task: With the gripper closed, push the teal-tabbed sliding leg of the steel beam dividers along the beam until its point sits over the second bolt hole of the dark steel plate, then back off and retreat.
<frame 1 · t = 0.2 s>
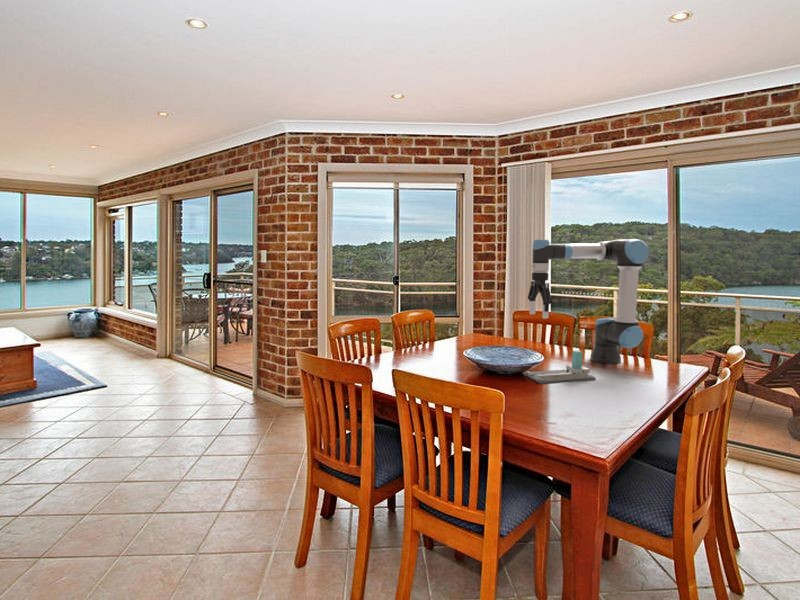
hand: (538, 316, 227), 28 cm above the table, fingers open, 13 cm apart
bolt plate: (558, 377, 221), on the table
sliding leg: (573, 362, 219), point 7 cm above the table, slide at 4.0 cm
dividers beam: (583, 378, 219), resting on bolt plate
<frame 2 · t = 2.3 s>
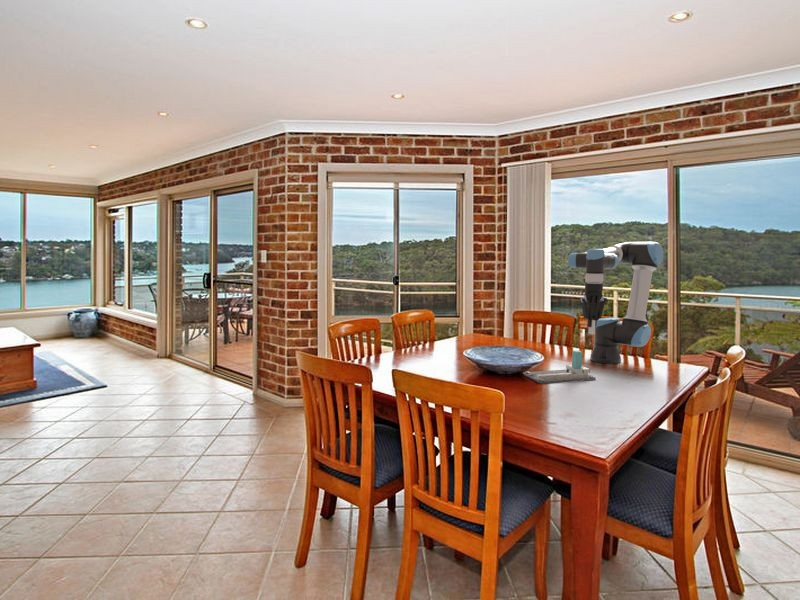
hand: (591, 333, 217), 21 cm above the table, fingers closed
nothing on the table moved.
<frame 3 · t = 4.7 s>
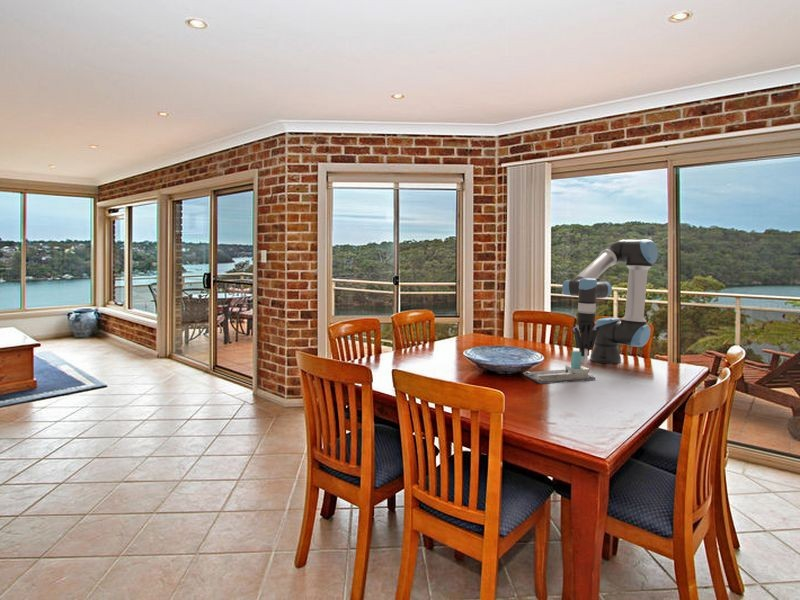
hand: (584, 362, 218), 8 cm above the table, fingers closed
sliding leg: (572, 362, 219), point 7 cm above the table, slide at 4.5 cm, touching gripper
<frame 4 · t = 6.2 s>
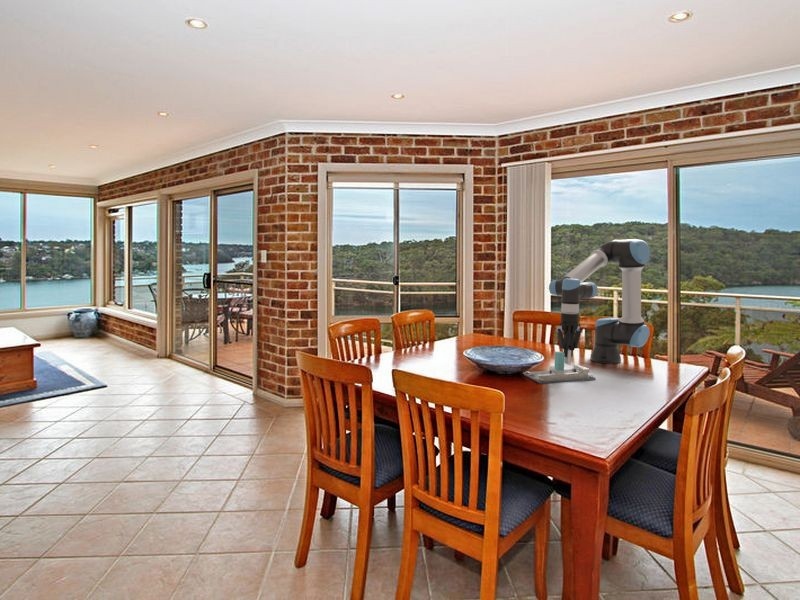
hand: (567, 363, 216), 8 cm above the table, fingers closed
sliding leg: (556, 363, 217), point 7 cm above the table, slide at 13.0 cm, touching gripper
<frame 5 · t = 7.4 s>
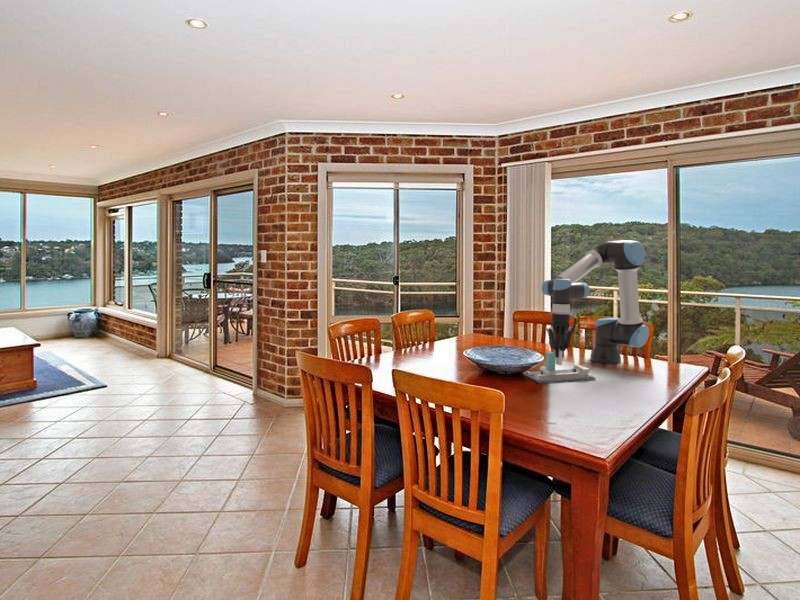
hand: (558, 364, 215), 8 cm above the table, fingers closed
sliding leg: (547, 363, 216), point 7 cm above the table, slide at 17.6 cm, touching gripper
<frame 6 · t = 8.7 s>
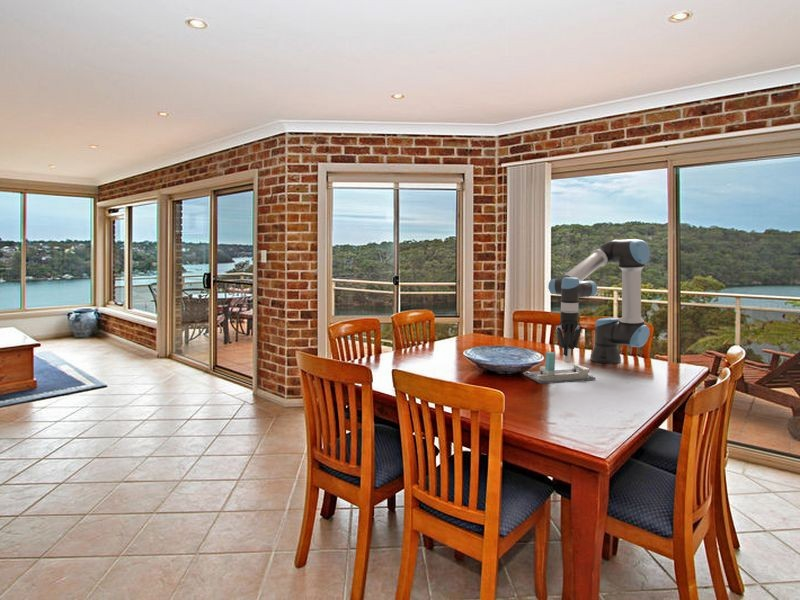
hand: (567, 362, 216), 8 cm above the table, fingers closed
sliding leg: (546, 364, 216), point 7 cm above the table, slide at 17.7 cm
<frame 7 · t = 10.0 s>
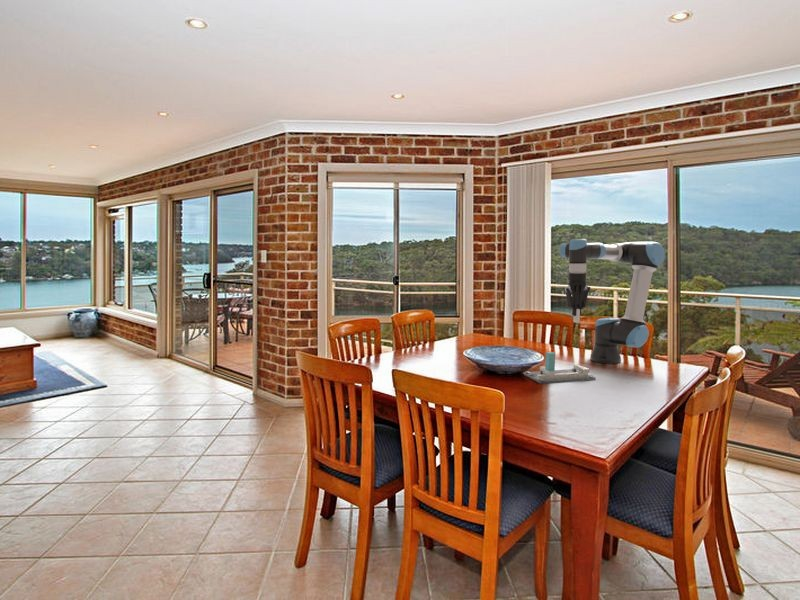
hand: (576, 322, 222), 25 cm above the table, fingers closed
nothing on the table moved.
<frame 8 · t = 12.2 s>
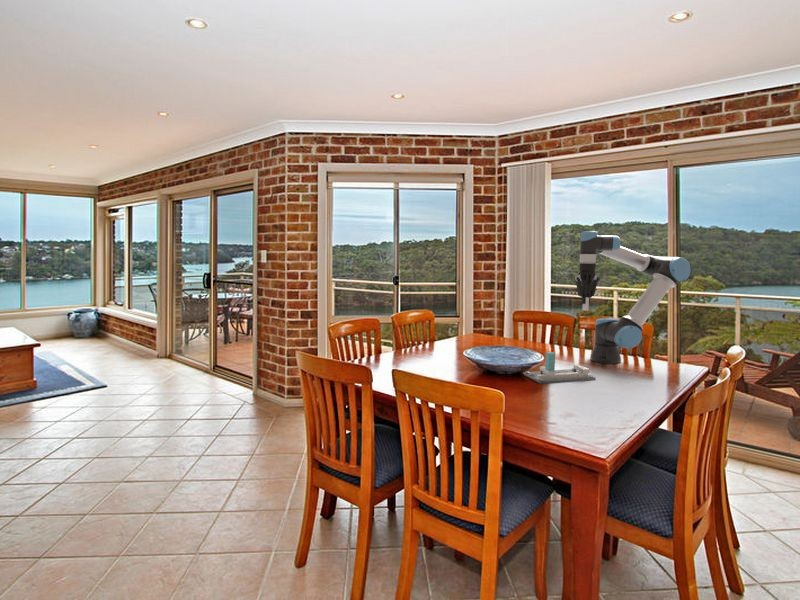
hand: (585, 310, 234), 29 cm above the table, fingers closed
nothing on the table moved.
at the end: sliding leg slide at 17.7 cm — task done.
